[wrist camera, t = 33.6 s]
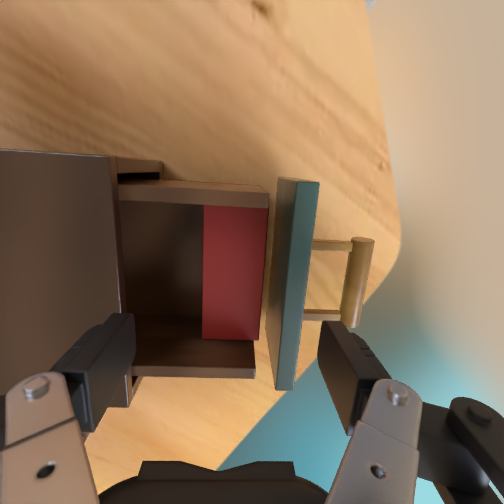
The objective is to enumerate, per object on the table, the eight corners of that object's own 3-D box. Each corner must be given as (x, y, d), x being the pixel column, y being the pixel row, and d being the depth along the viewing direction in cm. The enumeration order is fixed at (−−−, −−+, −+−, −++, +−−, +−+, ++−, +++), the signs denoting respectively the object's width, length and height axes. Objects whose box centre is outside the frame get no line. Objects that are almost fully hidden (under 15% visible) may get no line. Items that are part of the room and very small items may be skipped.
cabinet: (162, 161, 21) (109, 155, 12) (167, 325, 25) (128, 408, 16) (-42, 147, 20) (-252, 131, 12) (-4, 320, 24) (-139, 404, 16)
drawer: (354, 181, 21) (410, 187, 14) (330, 330, 25) (366, 392, 18) (109, 166, 20) (41, 164, 13) (122, 323, 24) (73, 387, 17)
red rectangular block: (209, 197, 20) (203, 202, 17) (264, 200, 20) (268, 206, 17) (207, 315, 23) (201, 339, 20) (255, 316, 23) (258, 341, 20)
